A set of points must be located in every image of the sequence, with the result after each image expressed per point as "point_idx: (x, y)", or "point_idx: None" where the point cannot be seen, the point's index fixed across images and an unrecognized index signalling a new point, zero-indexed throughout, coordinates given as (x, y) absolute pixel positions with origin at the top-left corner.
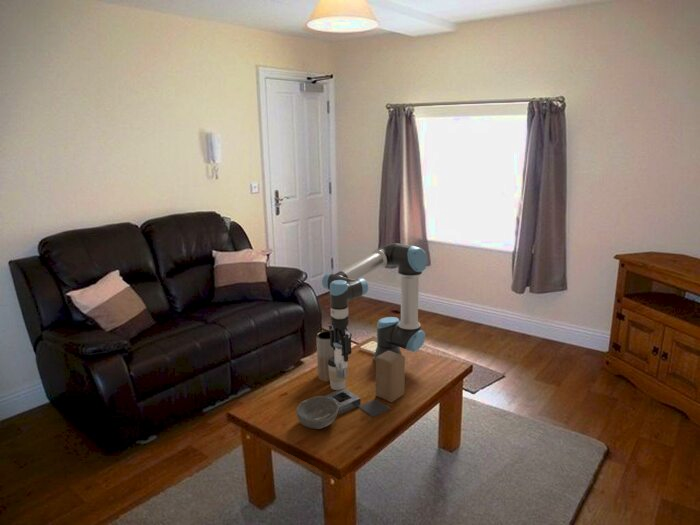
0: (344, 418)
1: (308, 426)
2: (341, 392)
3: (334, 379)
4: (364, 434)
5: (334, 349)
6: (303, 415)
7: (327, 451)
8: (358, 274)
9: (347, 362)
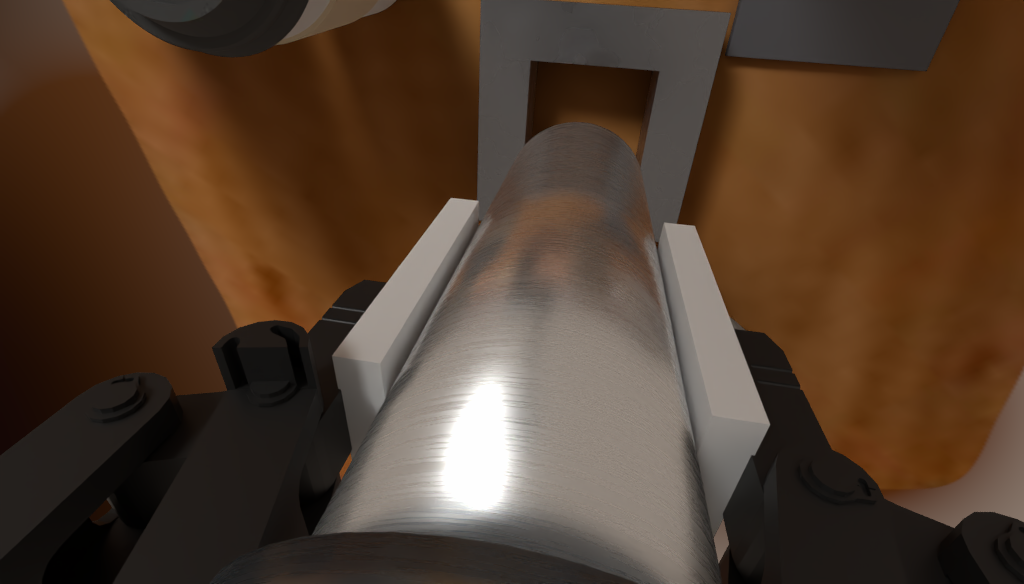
0: (724, 227)
1: None
2: (527, 78)
3: (352, 20)
4: (957, 263)
5: (338, 473)
6: None
7: None
8: None
9: (707, 276)
